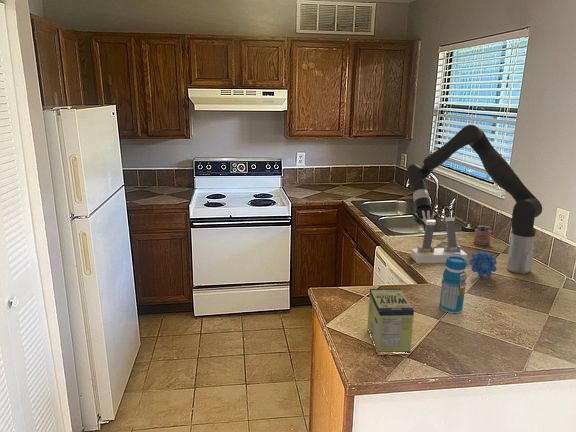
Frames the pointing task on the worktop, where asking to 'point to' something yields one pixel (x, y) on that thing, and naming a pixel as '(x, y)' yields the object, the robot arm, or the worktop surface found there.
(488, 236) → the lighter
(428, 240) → the lever amber
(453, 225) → the lever grey
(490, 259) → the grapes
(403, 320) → the protein box
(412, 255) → the console
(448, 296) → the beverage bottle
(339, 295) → the worktop surface
